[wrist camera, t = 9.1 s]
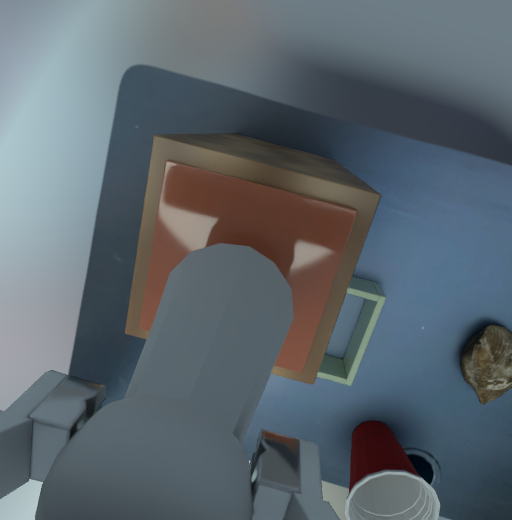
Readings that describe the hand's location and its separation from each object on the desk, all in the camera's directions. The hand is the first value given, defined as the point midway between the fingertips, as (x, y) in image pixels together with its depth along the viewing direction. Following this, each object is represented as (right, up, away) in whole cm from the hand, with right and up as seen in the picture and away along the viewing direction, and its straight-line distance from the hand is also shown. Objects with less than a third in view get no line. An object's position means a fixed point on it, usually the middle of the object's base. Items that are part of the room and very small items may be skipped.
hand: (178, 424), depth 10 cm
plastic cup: (+19, -21, +45) cm, 54 cm away
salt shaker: (+1, +3, +9) cm, 10 cm away
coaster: (+1, +4, +11) cm, 12 cm away
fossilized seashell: (+32, -8, +40) cm, 51 cm away
